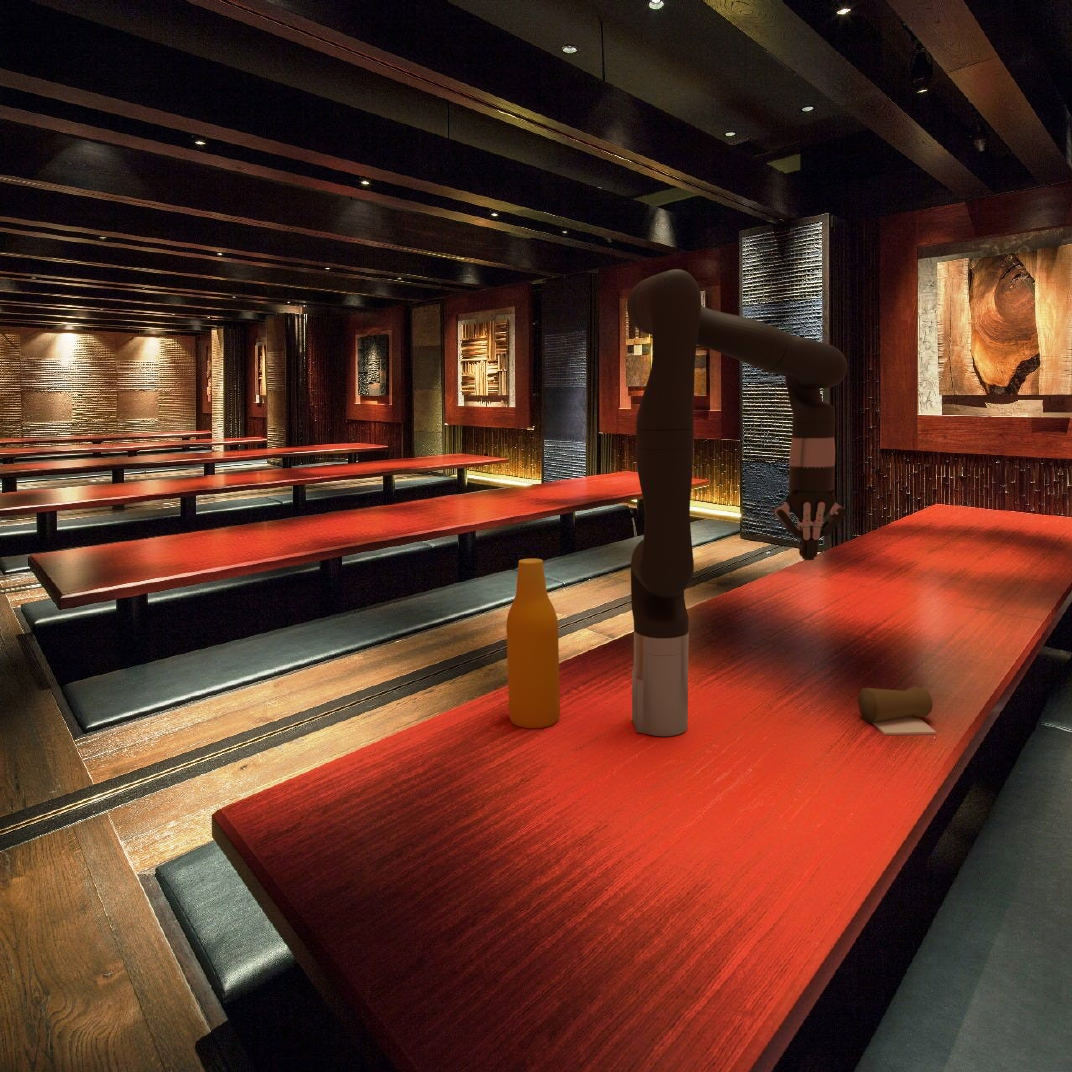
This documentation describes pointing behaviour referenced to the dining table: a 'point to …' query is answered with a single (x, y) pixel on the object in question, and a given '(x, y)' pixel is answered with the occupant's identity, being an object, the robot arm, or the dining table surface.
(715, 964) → the dining table surface
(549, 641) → the beer bottle
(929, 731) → the mat
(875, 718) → the cork
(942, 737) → the dining table surface
